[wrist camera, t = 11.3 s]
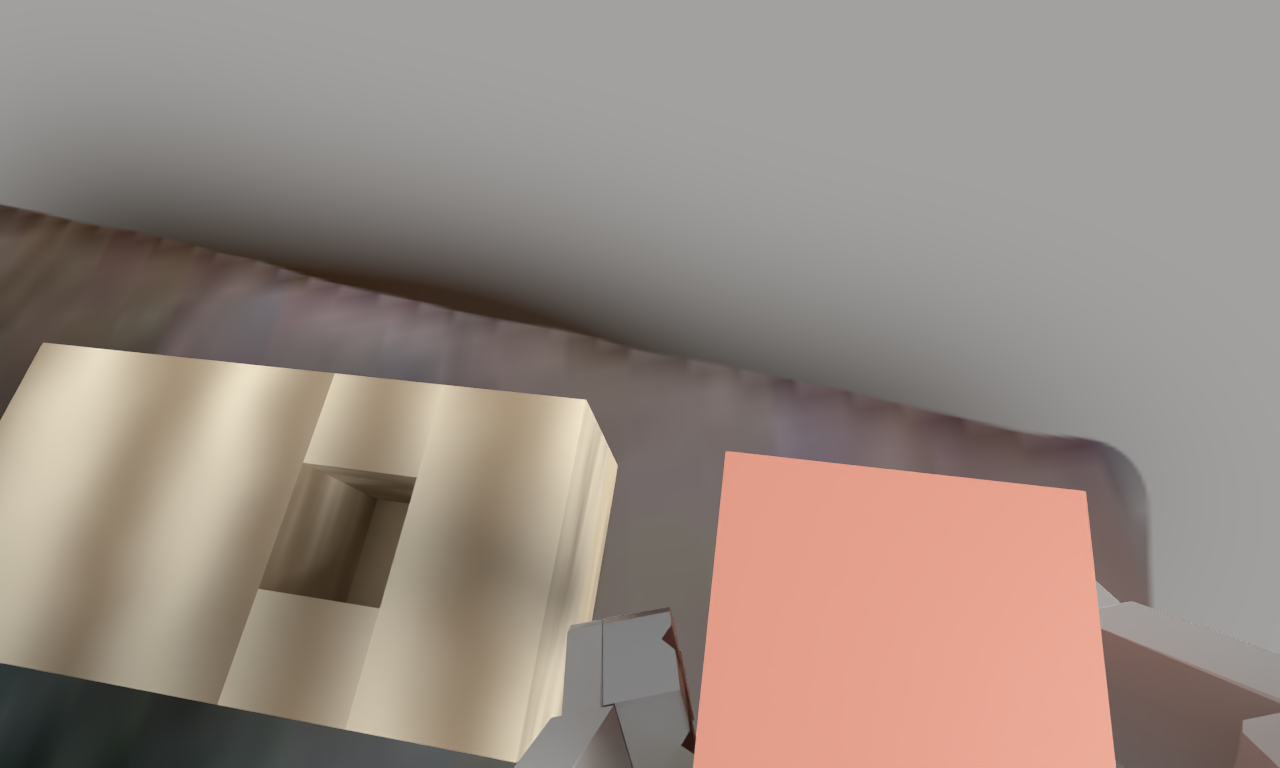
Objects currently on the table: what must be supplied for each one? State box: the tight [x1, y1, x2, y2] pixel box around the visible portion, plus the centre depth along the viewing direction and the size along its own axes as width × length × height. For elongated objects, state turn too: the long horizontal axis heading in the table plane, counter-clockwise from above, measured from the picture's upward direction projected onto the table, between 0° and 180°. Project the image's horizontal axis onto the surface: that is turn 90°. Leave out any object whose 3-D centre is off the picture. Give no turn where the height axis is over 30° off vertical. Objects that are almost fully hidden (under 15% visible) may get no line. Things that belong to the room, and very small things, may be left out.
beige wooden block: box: [0, 343, 618, 763], centre depth 28 cm, size 24×12×9 cm, turn 81°
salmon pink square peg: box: [693, 451, 1116, 768], centre depth 12 cm, size 3×3×14 cm
